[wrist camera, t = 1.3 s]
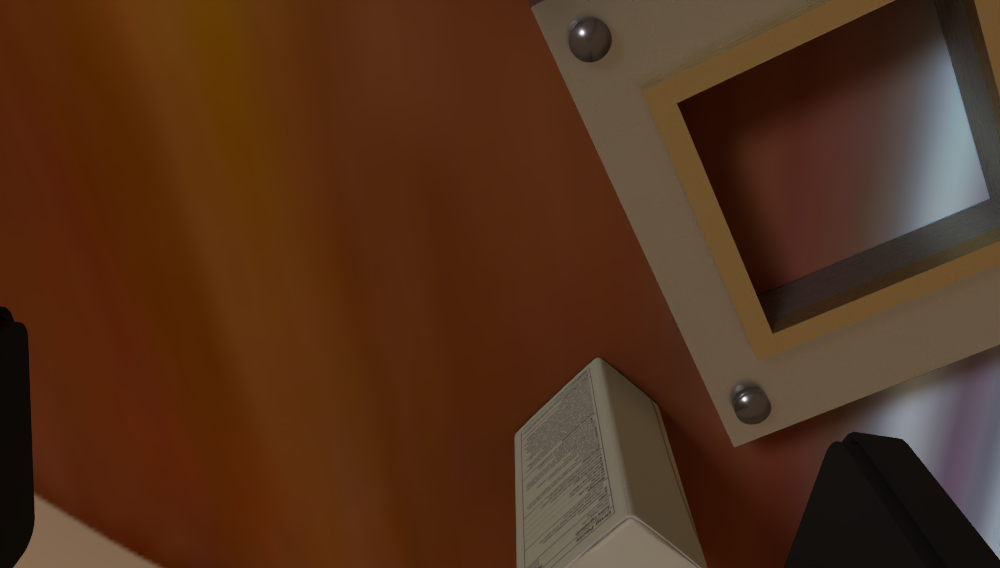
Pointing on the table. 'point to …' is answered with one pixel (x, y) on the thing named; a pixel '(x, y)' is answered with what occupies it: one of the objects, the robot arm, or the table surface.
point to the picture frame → (708, 241)
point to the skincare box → (600, 481)
